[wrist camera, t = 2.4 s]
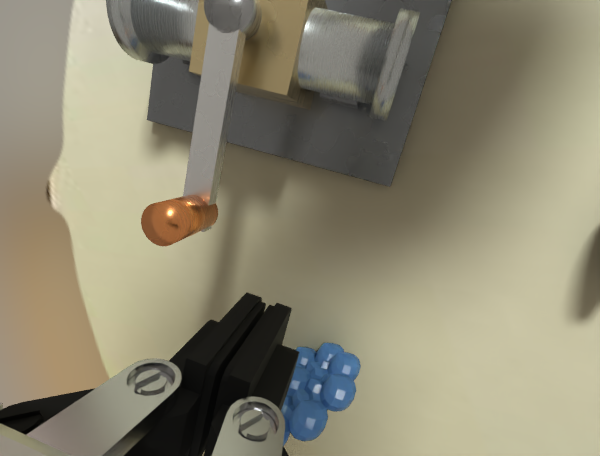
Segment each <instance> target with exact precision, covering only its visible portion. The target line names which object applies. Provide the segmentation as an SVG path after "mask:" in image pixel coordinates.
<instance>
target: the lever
mask: <svg viewBox="0 0 600 456" xmlns="http://www.w3.org/2000/svg"><path fill="white" fill-rule="evenodd" d="M204 11H205V15H206V18H207V20H208V22H209V28H208V35H207V41H206V48H205V55H204V61H203V68H202V74H201V81H200V88H199V94H198V101H197V108H196V114H195V121H194V127H193V134H192V141H191V147H190V154H189V161H188V167H187V174H186V180H185V187H184V194H183V197H179V198H175V199H170V200H166V201H162V202H158V203H154V204H151V205H149V206H148V207H147V208H146V209H145V210H144V212H143V214H142V218H141V225H142V229H143V231H144V233H145V235H146V237H147V238H148V239H149V240H150V241H151V242H153V243H154V244H156V245H159V246H169V245H171V244H173V243H176V242H178V241H180V240H182V239H184V238H186V237H189V236H191V235H193V234H195V233H197V232H199V231H202V232H205V231H207V230H209V229H211V226H212V225H213V224H214V223H215V222H216V220H217V217H218V208H217V205H216V199H217V193H218V188H219V182H220V177H221V171H222V165H223V160H224V154H225V149H226V143H227V138H228V132H229V127H230V121H231V116H232V110H233V105H234V99H235V93H236V88H237V82H238V77H239V71H240V66H241V60H242V55H243V49H244V44H245V41H247V40H249V39H250V38H252V37H253V36H254V35H255V34H256V32H257V31H258V29H259V27H260V24H261V20H262V10H261V5H260V3H259V1H258V0H204Z"/></svg>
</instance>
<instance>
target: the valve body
mask: <svg viewBox="0 0 600 456" xmlns="http://www.w3.org/2000/svg"><path fill="white" fill-rule="evenodd" d="M258 1H259V3H260V5H261V10H262V20H261V24H260V27H259V29H258V31H257V32H256V34H255V35H254V36H253V37H252V38H250V39H249V40H247V41H245V44H244V49H243V55H242V60H241V66H240V71H239V77H238V82H237V88H236V93H235V99H234V105H233V110H232V116H231V121H230V127H229V132H228V138H227V142H229V143H233V144H236V145H240V146H244V147H247V148H251V149H255V150H258V151H262V152H266V153H269V154H273V155H276V156H280V157H284V158H287V159H291V160H295V161H298V162H302V163H306V164H309V165H313V166H316V167H320V168H324V169H327V170H331V171H335V172H338V173H342V174H346V175H349V176H353V177H356V178H360V179H364V180H367V181H371V182H375V183H378V184H382V185H385V186H389V187H390V186H391V183H392V180H393V177H394V174H395V170H396V167H397V164H398V161H399V158H400V155H401V152H402V149H403V146H404V143H405V140H406V137H407V134H408V131H409V128H410V125H411V122H412V119H413V116H414V113H415V110H416V107H417V104H418V101H419V98H420V95H421V92H422V89H423V86H424V83H425V80H426V77H427V73H428V70H429V67H430V64H431V61H432V58H433V55H434V52H435V49H436V46H437V43H438V40H439V37H440V34H441V31H442V28H443V25H444V22H445V19H446V16H447V13H448V10H449V7H450V4H451V1H452V0H258ZM106 5H107V13H108V18H109V23H110V26H111V29H112V31H113V34H114V36H115V38H116V40H117V42H118V43H119V45H120V46H121V48H122V49H123V50H124V51H125V52H126V53H127V54H128V55H129V56H131V57H132V58H134V59H136V60H140V61H144V62H148V63H152V64H153V71H152V80H151V89H150V98H149V107H148V116H147V120H149V121H153V122H157V123H160V124H164V125H167V126H171V127H175V128H178V129H182V130H186V131H189V132H193V127H194V121H195V114H196V108H197V101H198V94H199V88H200V81H201V74H202V68H203V61H204V55H205V48H206V41H207V35H208V28H209V22H208V20H207V18H206V15H205V11H204V0H106Z"/></svg>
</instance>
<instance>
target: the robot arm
mask: <svg viewBox="0 0 600 456" xmlns="http://www.w3.org/2000/svg"><path fill="white" fill-rule="evenodd" d="M261 301H262V298H261V297H258V296H255V295H252V294H250V293H246V294H245V295H244V296H243V297H242V298H241V299H240V300H239V301H238V302H237V303H236V304H235V306H234V307H233V308H232V309H231V310H230V311H229V312H228V313H227V314H226V315H225V316H224V317H223V319H222V320H221V321H220V322H216V321H214V320H210V321H208V322H207V323H206V324H205V325H204V326H203V327H202V328H201V329H200V330H199V331H198V332H197V333H196V334H195V335H194V336H193V337H192V338H191V339H190V340H189V341H188V342H187V343H186V344H185V345H184V346H183V347H182V348H181V349H180V350H179V351H178V352H177V353H176V354H175V355H174V356H173V357H172V358H171V359H170V360H169V361H167V360H163V359H146V360H142V361H138V362H136V363H134V364H132V365H130V366H129V367H127V368H126V369H124V370H123V371H121V372H120V373H118V374H117V375H115V376H114V377H112V378H111V379H109V380H108V381H106V382H105V383H103V384H102V385H100V386H99V387H97V388H95V389H90V390H84V391H79V392H74V393H69V394H64V395H58V396H53V397H48V398H43V399H37V400H32V401H27V402H22V403H18V404H15V405H11V406H8V407H7V408H4V409H3V405H2V404H3V403H0V456H202V454H203V452H204V451H205V453H204V456H288V454H287V452H286V450H285V448H284V447H283V441H284V433H285V419H284V417H283V414H282V412H281V409H282V407H283V404H284V401H285V398H286V395H287V392H288V389H289V386H290V383H291V380H292V377H293V374H294V370H295V367H296V363H297V360H298V357H299V353H300V352H299V351H296V350H293V349H291V348H288V347H285V346H282V342H283V339H284V335H285V331H286V328H287V324H288V321H289V317H290V313H291V308H290V307H287V306H284V305H282V304H279V303H276V304H275V306H272V305H269V306H268V308H267V309H266V311H265V312H264V310H265V306H266V303H263V302H261Z"/></svg>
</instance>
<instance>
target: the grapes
mask: <svg viewBox="0 0 600 456" xmlns="http://www.w3.org/2000/svg"><path fill="white" fill-rule="evenodd" d="M296 351H299V352H300V353H299V357H298V360H297V363H296V367H295V370H294V374H293V377H292V380H291V383H290V386H289V389H288V392H287V395H286V398H285V401H284V404H283V407H282V409H281V412H282V414H283V417H284V419H285V433H284V441H283V446H284V445H285V443H286V442H287V440H288V437H289V434H290V433H291V434H292V435H293V436H294V438H295V439H298V440H301V441H310V440H313V439H316V438H317V437H318V436H319V435H320V434H321V432H322V431H323V430H324V428H325V425H326V422H327V419H328V415H327V410H331V411H342V410H345V409H346V408H347V407H348V406H349V405H350V404H351V402H352V401H353V399H354V396H355V392H356V387H355V383H354V380H355V378H356V377H357V375H358V374H359V370H360V367H361V366H360V361H359V359H358V358H357V357H356V356H355V355H354V354H351V353H348V352H344V349H343V348H342V347H341V346H340V345H337V344H334V343H323V344H322V346H321V347H320V348H319V350H318V351H317V352H316V351H315V350H314V349H311V348H308V347H297V349H296Z"/></svg>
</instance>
